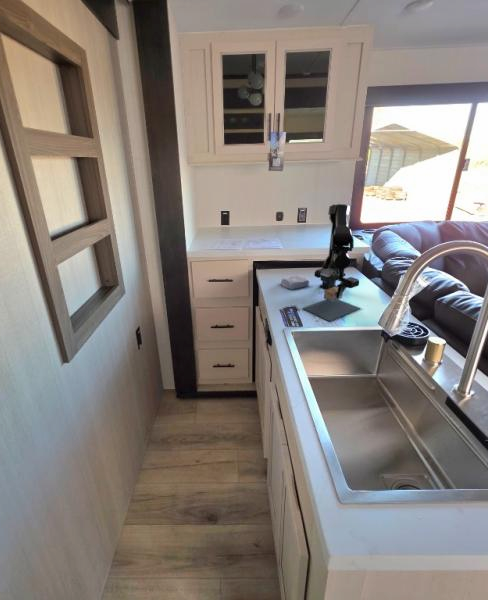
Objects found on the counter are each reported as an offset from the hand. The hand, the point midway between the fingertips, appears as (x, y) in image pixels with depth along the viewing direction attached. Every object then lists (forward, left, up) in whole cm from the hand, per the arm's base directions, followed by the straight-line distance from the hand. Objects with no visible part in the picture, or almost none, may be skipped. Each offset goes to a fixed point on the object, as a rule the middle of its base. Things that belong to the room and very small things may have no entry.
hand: (333, 296), depth 137 cm
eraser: (0, 0, -1) cm, 1 cm away
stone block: (-3, -26, -4) cm, 26 cm away
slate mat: (+5, +4, -4) cm, 7 cm away
